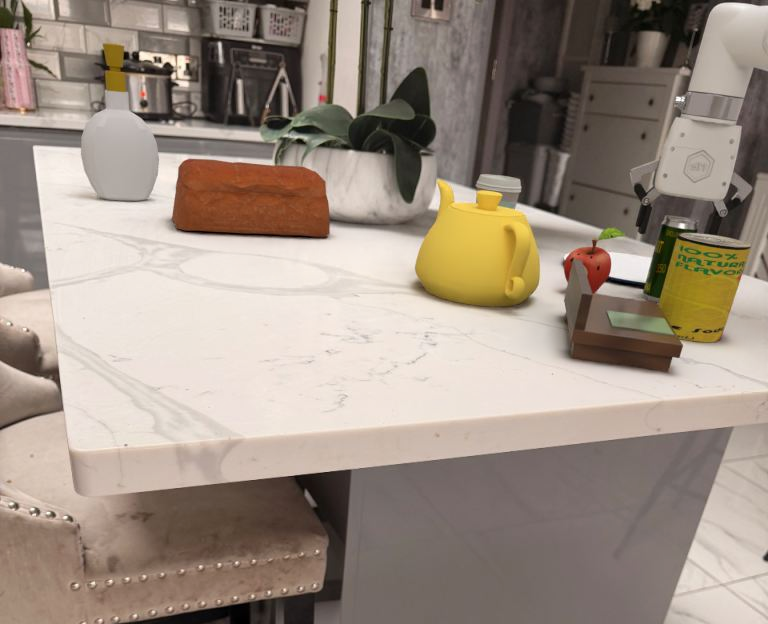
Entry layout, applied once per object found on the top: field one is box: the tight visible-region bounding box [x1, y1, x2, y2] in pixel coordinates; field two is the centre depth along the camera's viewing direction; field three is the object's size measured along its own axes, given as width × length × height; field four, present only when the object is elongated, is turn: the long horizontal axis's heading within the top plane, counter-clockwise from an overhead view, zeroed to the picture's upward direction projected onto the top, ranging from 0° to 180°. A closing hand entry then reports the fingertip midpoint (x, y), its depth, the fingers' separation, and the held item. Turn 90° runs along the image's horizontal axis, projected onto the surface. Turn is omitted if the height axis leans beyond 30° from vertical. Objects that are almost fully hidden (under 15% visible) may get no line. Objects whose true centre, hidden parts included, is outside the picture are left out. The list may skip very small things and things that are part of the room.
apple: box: [563, 227, 626, 294], centre depth 114 cm, size 8×7×10 cm
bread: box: [171, 158, 331, 238], centre depth 133 cm, size 16×27×11 cm, turn 108°
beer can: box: [642, 215, 700, 304], centre depth 116 cm, size 5×5×12 cm
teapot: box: [414, 179, 541, 307], centre depth 108 cm, size 25×18×14 cm
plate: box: [562, 251, 652, 286], centre depth 135 cm, size 25×25×1 cm
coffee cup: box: [475, 173, 522, 210], centre depth 143 cm, size 8×8×12 cm
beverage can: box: [657, 232, 752, 343], centre depth 100 cm, size 9×9×12 cm
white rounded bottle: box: [80, 42, 160, 202], centre depth 143 cm, size 14×9×26 cm, turn 118°
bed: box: [563, 259, 684, 373], centre depth 93 cm, size 12×20×8 cm, turn 170°
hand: (673, 237), depth 115 cm, fingers open, 9 cm apart
